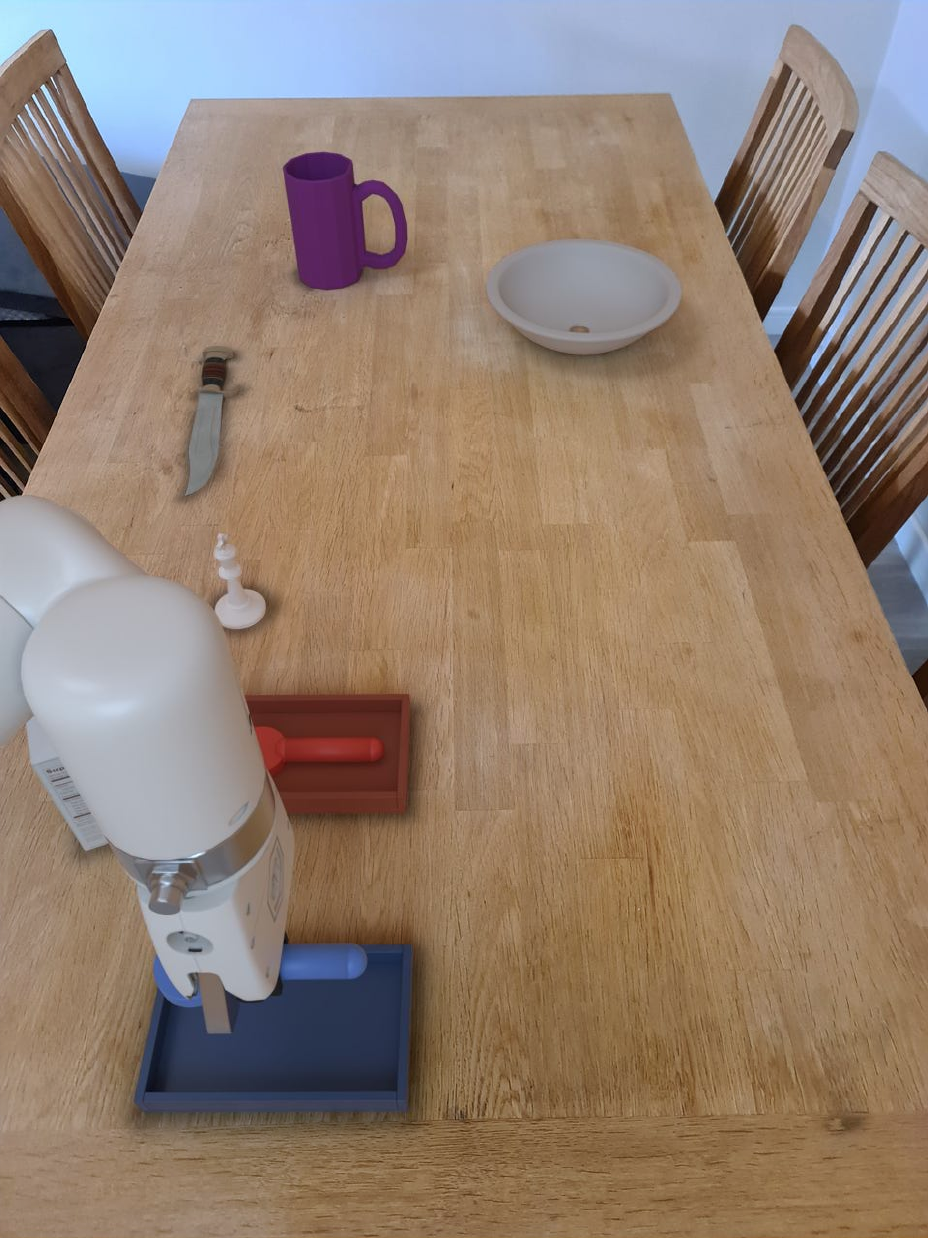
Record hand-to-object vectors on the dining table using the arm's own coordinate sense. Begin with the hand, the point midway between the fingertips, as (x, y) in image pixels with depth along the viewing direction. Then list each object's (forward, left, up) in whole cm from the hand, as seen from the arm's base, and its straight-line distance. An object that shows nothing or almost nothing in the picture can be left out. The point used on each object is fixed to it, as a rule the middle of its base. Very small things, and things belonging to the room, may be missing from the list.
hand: (259, 968), depth 58 cm
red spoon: (-1, +22, -10) cm, 24 cm away
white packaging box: (-15, +18, -11) cm, 26 cm away
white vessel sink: (+27, +87, -11) cm, 92 cm away
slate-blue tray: (0, 0, -11) cm, 11 cm away
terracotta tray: (-1, +22, -11) cm, 25 cm away
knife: (-17, +69, -11) cm, 72 cm away
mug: (-3, +102, -11) cm, 103 cm away
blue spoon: (0, 0, 0) cm, 0 cm away
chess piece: (-9, +39, -11) cm, 42 cm away
